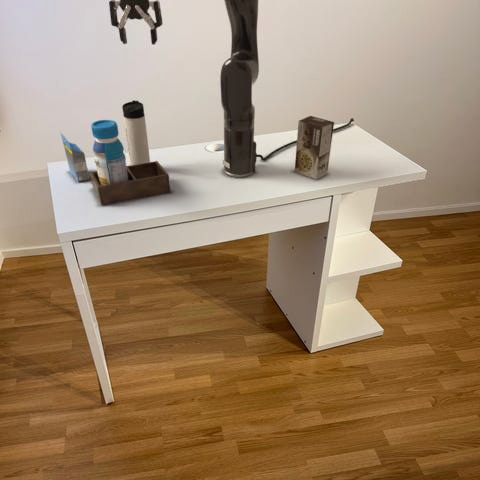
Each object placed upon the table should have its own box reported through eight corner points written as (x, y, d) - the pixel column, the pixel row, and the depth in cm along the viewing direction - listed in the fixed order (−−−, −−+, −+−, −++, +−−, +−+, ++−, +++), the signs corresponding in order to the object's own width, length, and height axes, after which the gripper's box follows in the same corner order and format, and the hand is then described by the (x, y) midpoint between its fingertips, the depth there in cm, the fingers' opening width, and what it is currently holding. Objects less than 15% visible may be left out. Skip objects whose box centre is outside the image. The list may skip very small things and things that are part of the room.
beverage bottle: (127, 200, 131) (116, 129, 118) (98, 200, 131) (83, 128, 118) (133, 187, 138) (123, 118, 125) (105, 187, 138) (92, 118, 125)
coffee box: (328, 174, 147) (335, 121, 137) (316, 180, 144) (323, 127, 133) (305, 165, 152) (310, 114, 141) (293, 171, 148) (298, 119, 138)
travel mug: (153, 165, 150) (145, 100, 137) (148, 174, 145) (140, 107, 132) (134, 164, 151) (125, 99, 138) (128, 173, 146) (118, 106, 133)
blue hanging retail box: (90, 179, 142) (82, 139, 134) (77, 182, 140) (68, 141, 132) (81, 169, 147) (72, 130, 139) (69, 172, 146) (59, 132, 138)
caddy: (159, 178, 143) (157, 160, 140) (170, 192, 136) (168, 174, 132) (93, 189, 137) (89, 171, 133) (101, 205, 129) (97, 187, 125)
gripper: (100, -25, 121) (111, 46, 131) (153, -25, 120) (160, 46, 130) (109, -27, 126) (119, 41, 137) (160, -27, 125) (166, 41, 136)
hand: (139, 43), depth 133 cm, fingers open, 8 cm apart
